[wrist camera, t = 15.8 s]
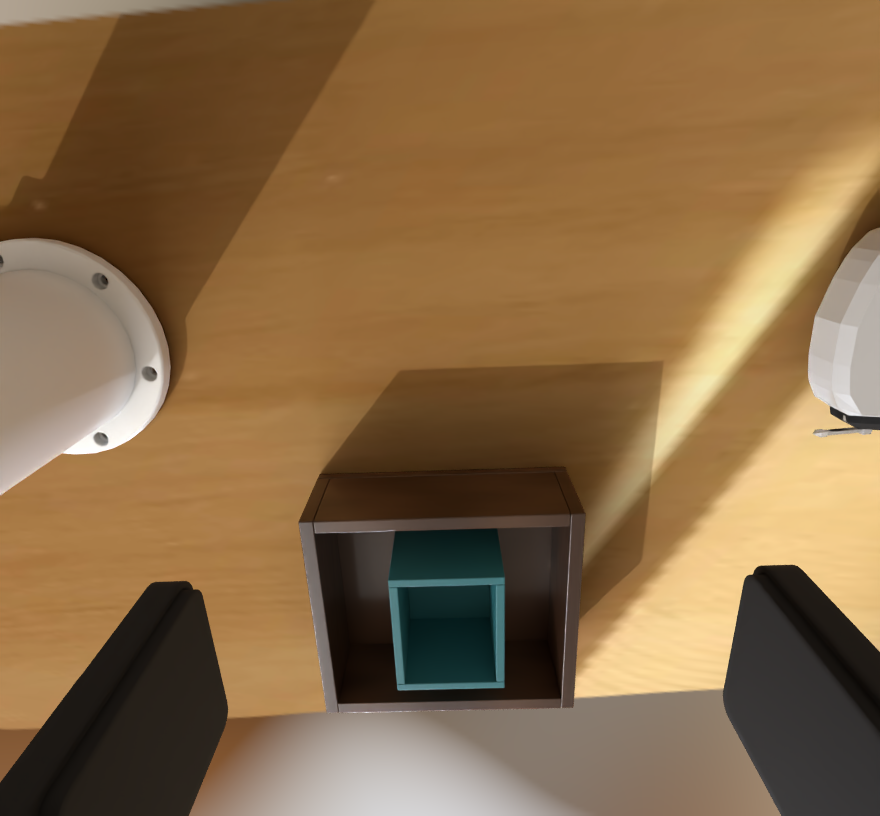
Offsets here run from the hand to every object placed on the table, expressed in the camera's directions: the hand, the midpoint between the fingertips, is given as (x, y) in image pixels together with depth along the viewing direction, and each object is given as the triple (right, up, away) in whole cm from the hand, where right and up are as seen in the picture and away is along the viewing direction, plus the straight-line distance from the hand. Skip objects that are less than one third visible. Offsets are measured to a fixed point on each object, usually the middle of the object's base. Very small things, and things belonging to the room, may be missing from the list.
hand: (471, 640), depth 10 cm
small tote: (0, -7, +28) cm, 29 cm away
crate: (0, -7, +29) cm, 29 cm away
